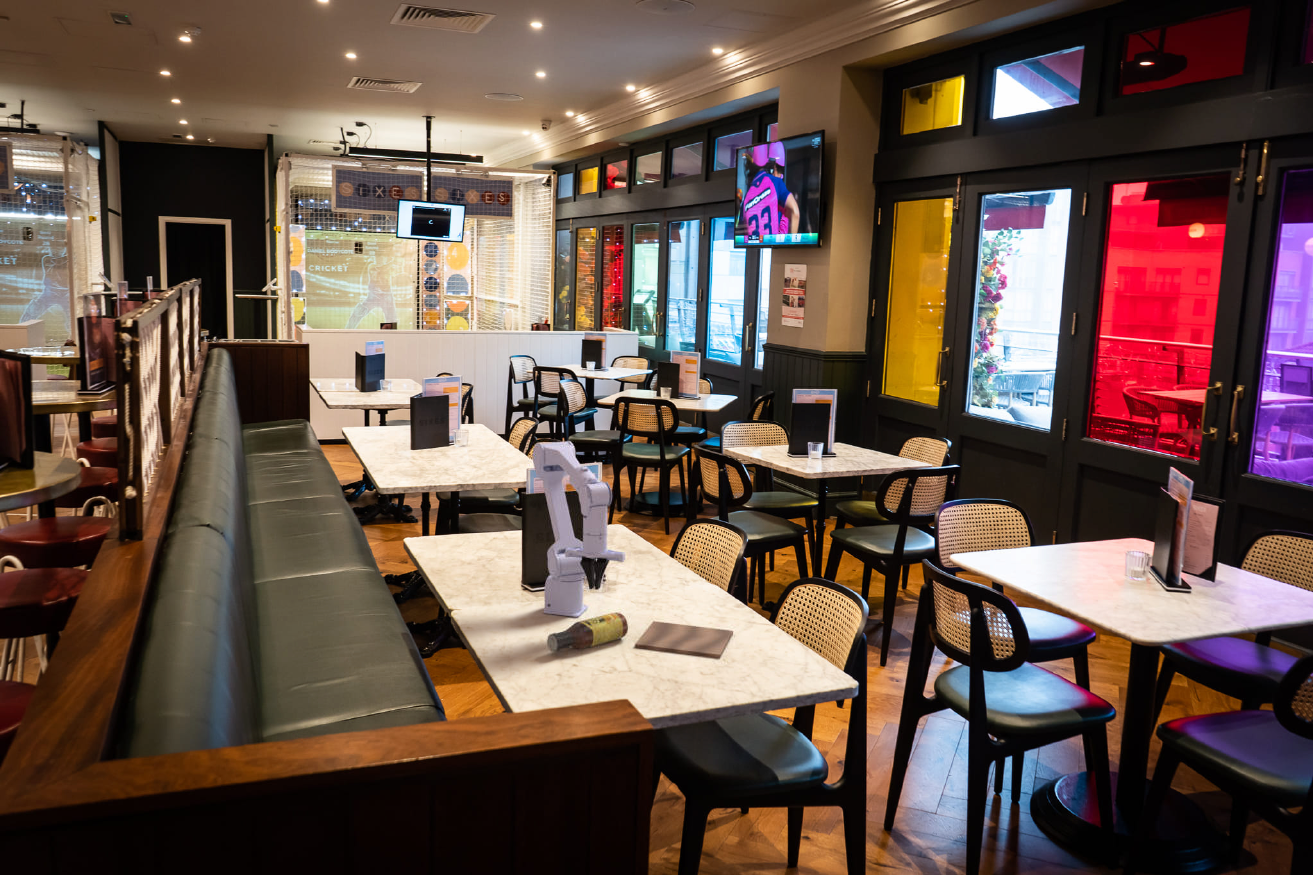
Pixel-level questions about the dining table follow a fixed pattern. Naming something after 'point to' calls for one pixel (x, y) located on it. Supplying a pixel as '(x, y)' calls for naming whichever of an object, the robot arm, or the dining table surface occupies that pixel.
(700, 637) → the walnut board
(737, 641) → the dining table surface
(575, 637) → the sauce bottle
